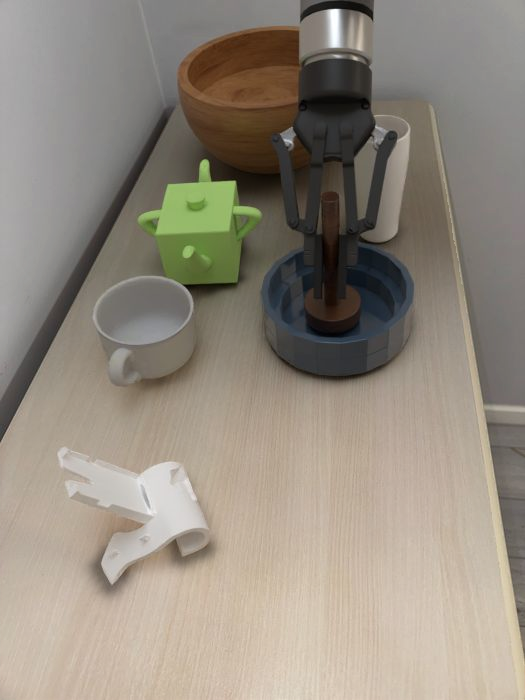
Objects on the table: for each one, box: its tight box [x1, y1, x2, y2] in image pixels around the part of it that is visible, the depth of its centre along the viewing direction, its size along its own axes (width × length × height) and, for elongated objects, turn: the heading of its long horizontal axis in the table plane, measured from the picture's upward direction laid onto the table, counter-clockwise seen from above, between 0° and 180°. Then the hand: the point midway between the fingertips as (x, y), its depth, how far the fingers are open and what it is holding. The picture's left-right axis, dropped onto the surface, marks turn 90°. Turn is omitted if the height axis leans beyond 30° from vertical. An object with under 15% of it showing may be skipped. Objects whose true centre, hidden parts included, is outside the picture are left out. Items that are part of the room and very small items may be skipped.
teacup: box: [91, 275, 197, 388], centre depth 74 cm, size 14×11×8 cm
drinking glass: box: [354, 114, 411, 244], centre depth 84 cm, size 7×7×15 cm
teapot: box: [137, 158, 263, 286], centre depth 84 cm, size 15×13×11 cm
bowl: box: [176, 25, 311, 175], centre depth 98 cm, size 25×25×15 cm
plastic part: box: [56, 445, 212, 586], centre depth 58 cm, size 8×10×12 cm
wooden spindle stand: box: [304, 190, 361, 333], centre depth 72 cm, size 6×6×16 cm
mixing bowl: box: [260, 241, 415, 377], centre depth 76 cm, size 17×17×6 cm
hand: (329, 298), depth 70 cm, fingers closed on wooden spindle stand, 2 cm apart
